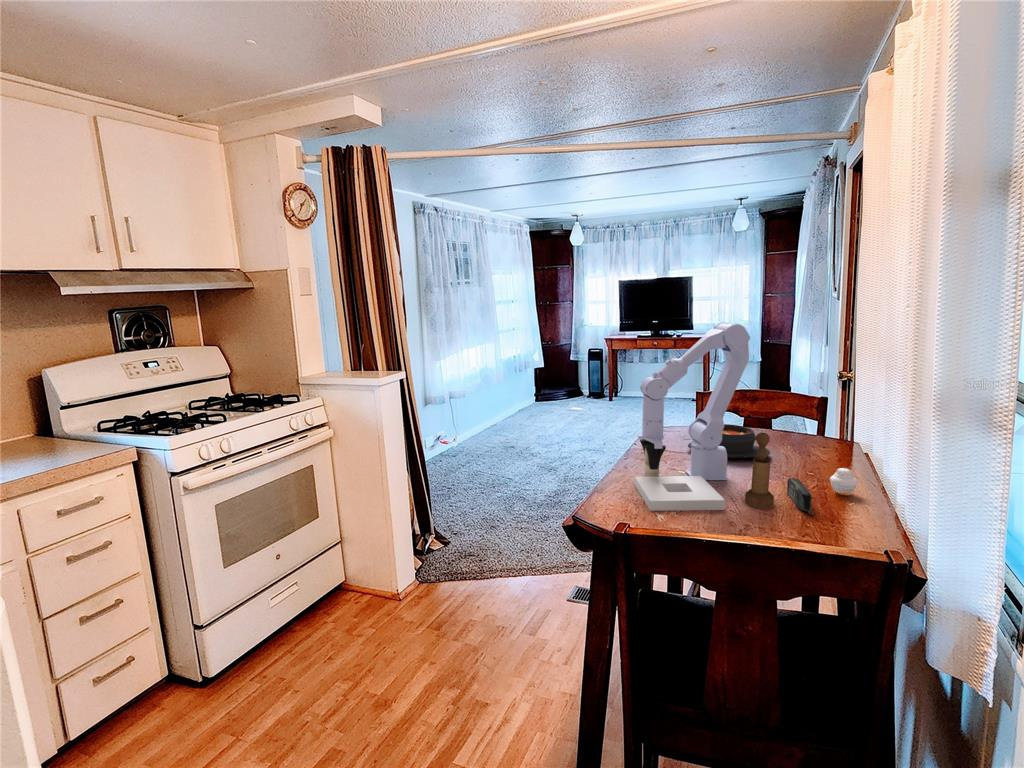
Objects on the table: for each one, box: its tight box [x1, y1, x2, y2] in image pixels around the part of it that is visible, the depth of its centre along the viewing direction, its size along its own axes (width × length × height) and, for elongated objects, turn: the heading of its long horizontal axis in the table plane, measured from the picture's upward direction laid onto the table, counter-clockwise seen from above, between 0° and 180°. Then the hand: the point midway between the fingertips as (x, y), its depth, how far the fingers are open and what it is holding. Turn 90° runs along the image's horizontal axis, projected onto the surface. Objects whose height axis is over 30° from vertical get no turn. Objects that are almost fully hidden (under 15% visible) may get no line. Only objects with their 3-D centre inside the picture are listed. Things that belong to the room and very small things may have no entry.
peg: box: [643, 448, 660, 477], centre depth 158 cm, size 4×4×9 cm
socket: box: [634, 475, 726, 512], centre depth 144 cm, size 18×18×2 cm
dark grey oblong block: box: [786, 477, 814, 516], centre depth 137 cm, size 5×3×15 cm
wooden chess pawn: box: [744, 432, 775, 509], centre depth 137 cm, size 7×6×18 cm
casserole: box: [687, 423, 771, 460], centre depth 180 cm, size 25×19×8 cm
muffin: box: [829, 467, 858, 494], centre depth 143 cm, size 6×6×7 cm
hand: (651, 466), depth 158 cm, fingers closed on peg, 4 cm apart
